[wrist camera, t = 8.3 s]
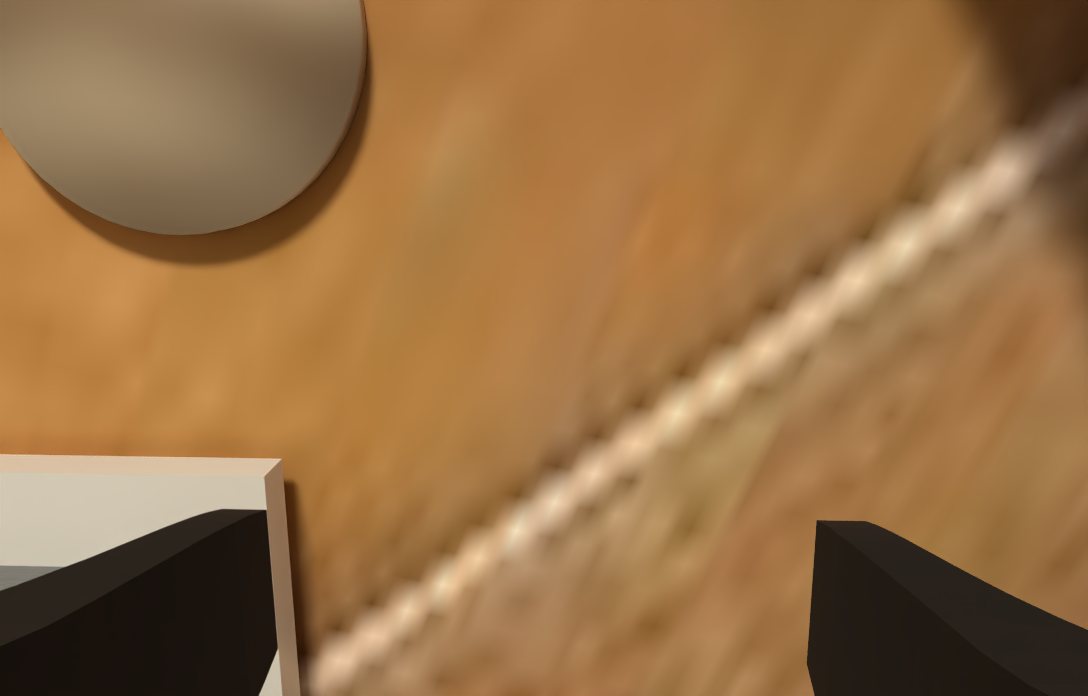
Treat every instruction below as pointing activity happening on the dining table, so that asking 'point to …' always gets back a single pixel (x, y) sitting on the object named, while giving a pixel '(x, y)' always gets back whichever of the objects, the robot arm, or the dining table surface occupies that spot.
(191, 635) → the robot arm
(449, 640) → the dining table surface
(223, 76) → the metal coaster
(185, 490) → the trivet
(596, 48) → the dining table surface
